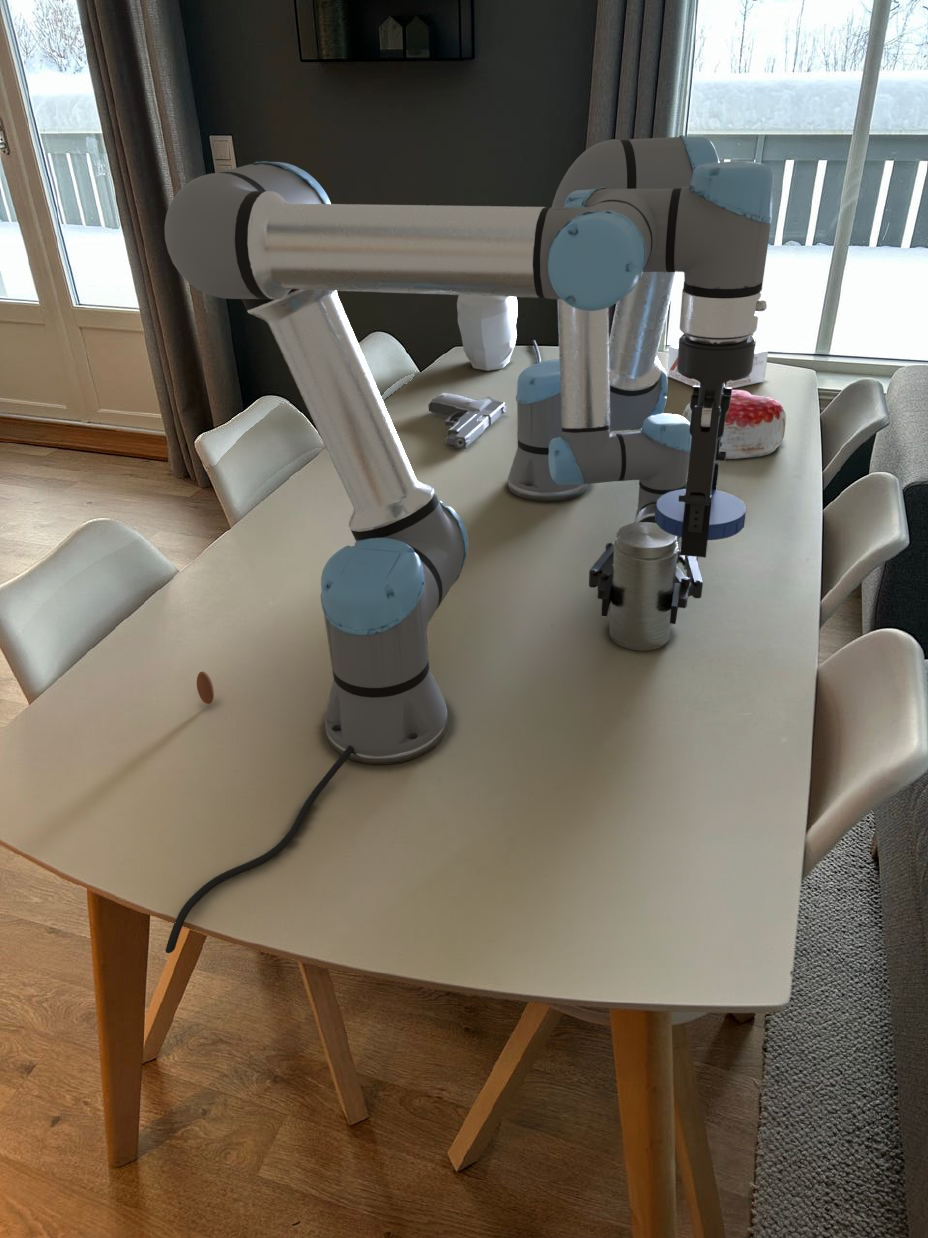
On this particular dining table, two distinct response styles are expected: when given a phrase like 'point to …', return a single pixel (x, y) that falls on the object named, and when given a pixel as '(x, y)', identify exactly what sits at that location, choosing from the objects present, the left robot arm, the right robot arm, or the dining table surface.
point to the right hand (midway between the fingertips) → (638, 611)
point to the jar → (642, 586)
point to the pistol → (466, 416)
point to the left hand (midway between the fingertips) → (697, 533)
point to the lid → (723, 516)
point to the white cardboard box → (752, 378)
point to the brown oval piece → (205, 687)
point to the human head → (487, 329)
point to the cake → (750, 425)
